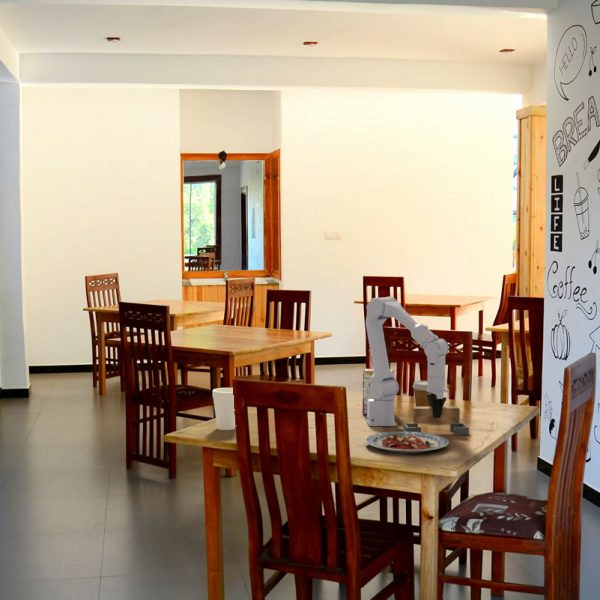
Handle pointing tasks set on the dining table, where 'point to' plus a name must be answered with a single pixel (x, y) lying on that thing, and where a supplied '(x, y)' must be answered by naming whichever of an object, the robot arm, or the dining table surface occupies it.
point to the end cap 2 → (459, 428)
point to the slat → (426, 416)
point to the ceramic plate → (406, 441)
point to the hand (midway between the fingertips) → (435, 416)
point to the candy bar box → (367, 388)
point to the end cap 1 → (411, 427)
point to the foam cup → (224, 408)
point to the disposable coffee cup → (421, 393)
